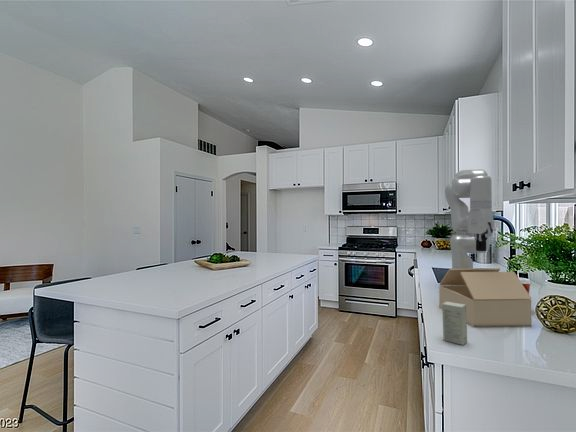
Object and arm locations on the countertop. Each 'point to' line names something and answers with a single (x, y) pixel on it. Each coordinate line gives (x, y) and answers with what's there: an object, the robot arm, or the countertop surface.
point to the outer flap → (495, 286)
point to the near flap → (456, 279)
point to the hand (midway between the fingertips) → (481, 250)
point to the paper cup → (525, 283)
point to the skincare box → (454, 322)
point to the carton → (488, 308)
